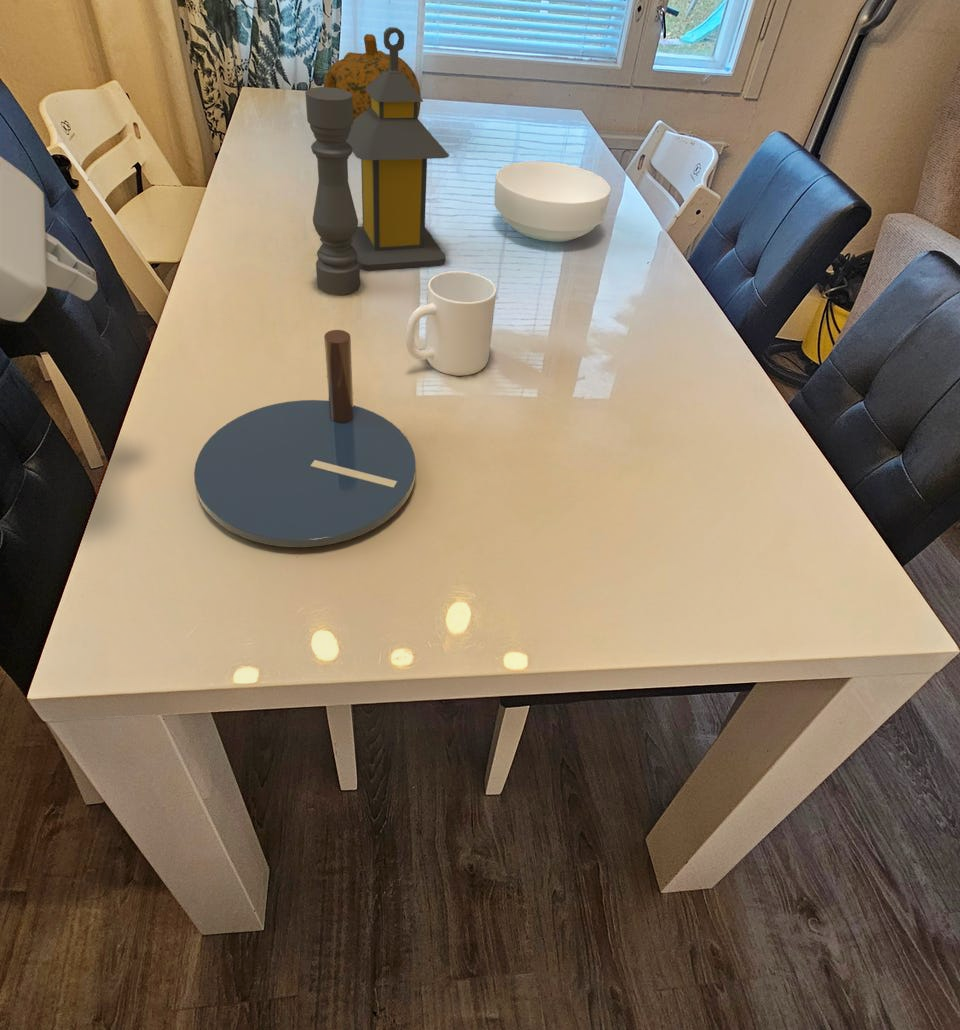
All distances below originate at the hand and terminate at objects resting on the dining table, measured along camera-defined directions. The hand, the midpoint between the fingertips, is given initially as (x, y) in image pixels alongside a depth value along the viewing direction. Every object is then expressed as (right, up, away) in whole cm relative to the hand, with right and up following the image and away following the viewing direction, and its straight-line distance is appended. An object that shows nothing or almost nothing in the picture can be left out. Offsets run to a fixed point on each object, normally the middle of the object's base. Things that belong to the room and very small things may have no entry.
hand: (93, 287), depth 59 cm
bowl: (+44, +31, +66) cm, 85 cm away
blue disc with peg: (+15, -15, +14) cm, 25 cm away
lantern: (+18, +24, +55) cm, 63 cm away
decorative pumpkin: (+10, +61, +93) cm, 112 cm away
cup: (+28, 0, +32) cm, 43 cm away
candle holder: (+12, +15, +45) cm, 48 cm away
